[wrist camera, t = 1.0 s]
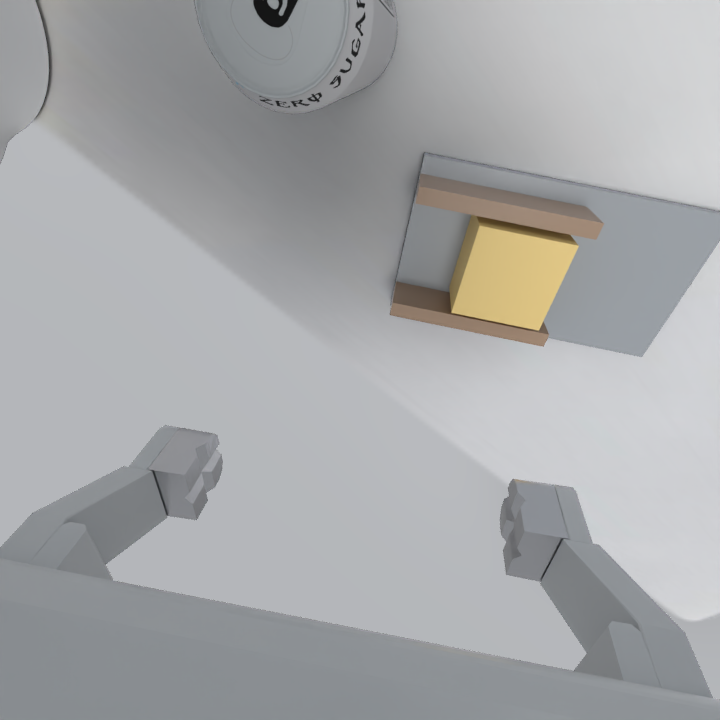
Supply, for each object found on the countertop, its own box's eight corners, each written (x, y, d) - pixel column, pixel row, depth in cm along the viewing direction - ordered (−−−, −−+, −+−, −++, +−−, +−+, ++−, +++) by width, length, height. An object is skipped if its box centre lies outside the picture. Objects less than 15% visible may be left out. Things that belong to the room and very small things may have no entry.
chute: (391, 299, 35) (386, 328, 31) (424, 152, 28) (423, 166, 25) (637, 350, 34) (661, 384, 31) (726, 212, 28) (771, 236, 24)
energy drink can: (278, 45, 26) (146, 34, 14) (333, -69, 23) (223, -211, 11) (358, 113, 28) (302, 157, 15) (420, 15, 24) (411, -26, 12)
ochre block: (449, 287, 32) (451, 312, 29) (473, 207, 29) (479, 225, 26) (527, 303, 32) (538, 330, 29) (562, 224, 29) (578, 245, 26)
